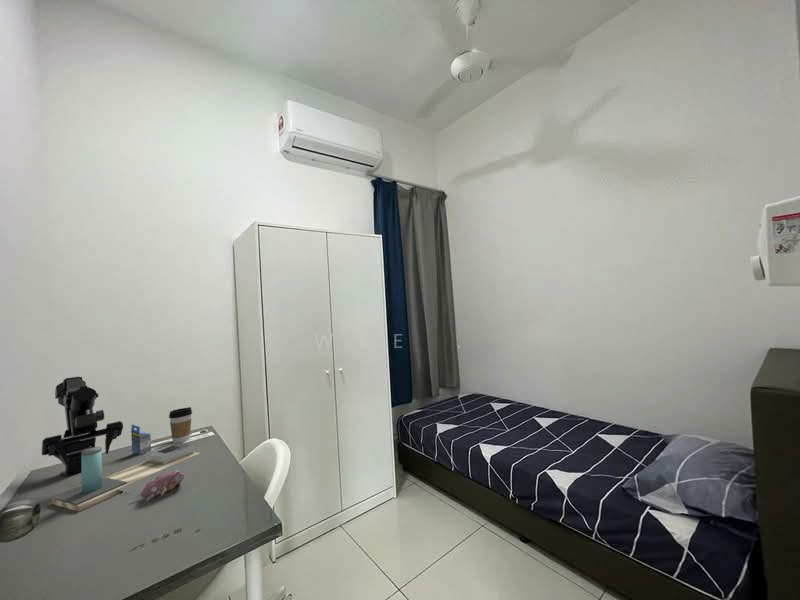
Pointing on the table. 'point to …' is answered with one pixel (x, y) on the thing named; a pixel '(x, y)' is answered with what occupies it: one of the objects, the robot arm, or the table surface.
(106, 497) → the birch board
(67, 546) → the table surface
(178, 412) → the coffee cup
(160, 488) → the video game controller
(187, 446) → the square metal frame plate
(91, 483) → the teal dowel
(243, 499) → the table surface
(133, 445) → the label tape box
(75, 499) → the dark gray rubber pad
